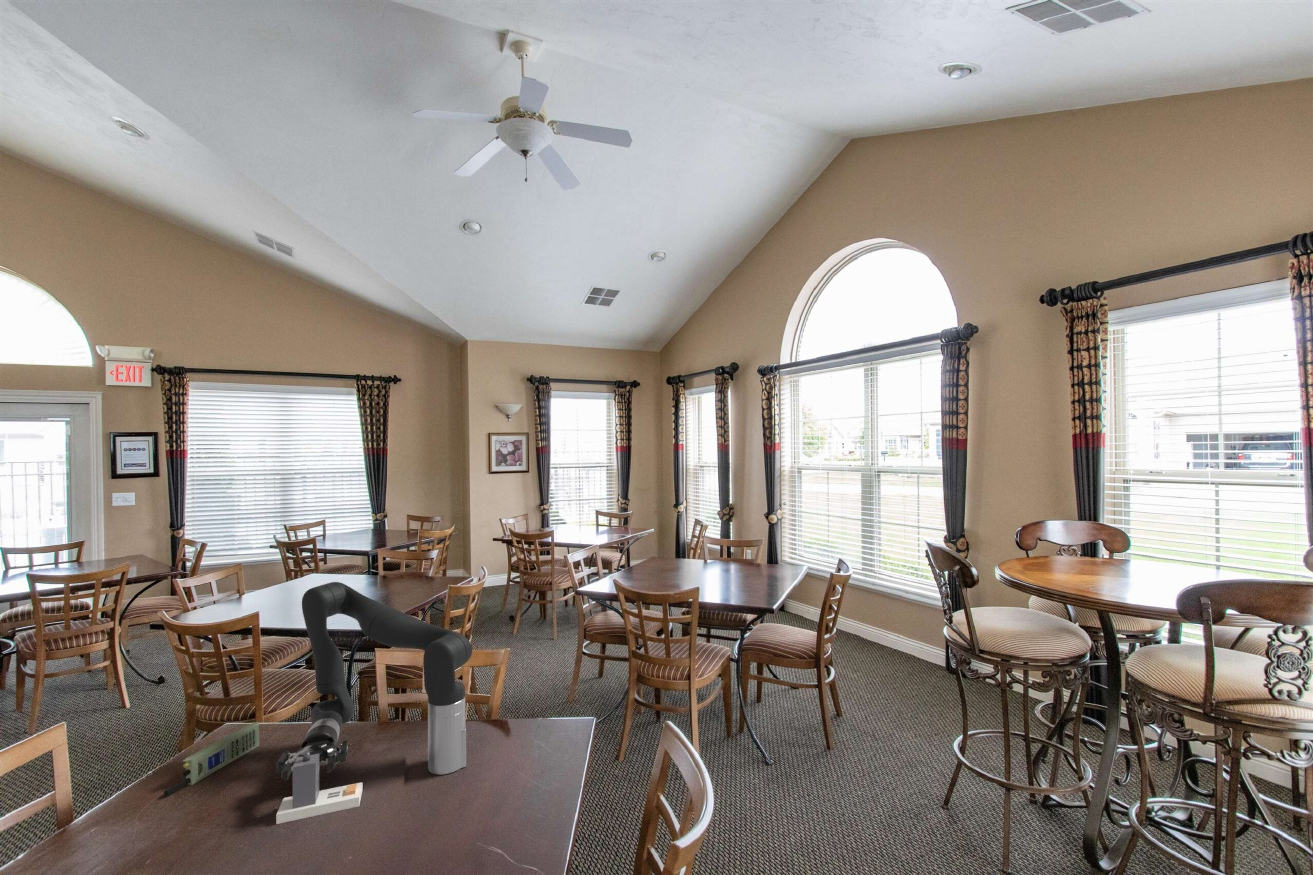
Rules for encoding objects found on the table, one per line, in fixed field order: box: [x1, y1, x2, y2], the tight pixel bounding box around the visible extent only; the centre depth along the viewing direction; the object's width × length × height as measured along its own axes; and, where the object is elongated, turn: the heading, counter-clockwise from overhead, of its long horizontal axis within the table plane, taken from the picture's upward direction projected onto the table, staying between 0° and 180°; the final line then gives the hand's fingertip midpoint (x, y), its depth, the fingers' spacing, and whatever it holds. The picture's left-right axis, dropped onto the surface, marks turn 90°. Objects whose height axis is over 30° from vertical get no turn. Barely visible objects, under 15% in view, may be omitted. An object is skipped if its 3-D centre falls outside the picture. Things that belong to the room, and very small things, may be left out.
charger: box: [292, 751, 320, 809], centre depth 127 cm, size 4×4×13 cm
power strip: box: [275, 782, 363, 825], centre depth 129 cm, size 22×6×4 cm, turn 112°
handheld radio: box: [163, 722, 260, 797], centre depth 147 cm, size 7×3×25 cm
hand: (307, 772), depth 128 cm, fingers open, 8 cm apart
